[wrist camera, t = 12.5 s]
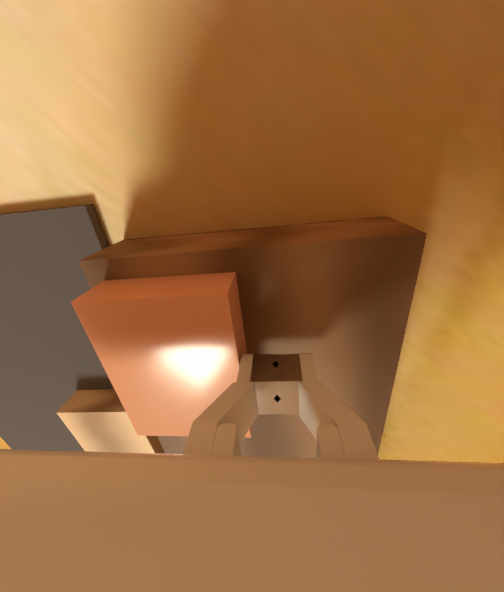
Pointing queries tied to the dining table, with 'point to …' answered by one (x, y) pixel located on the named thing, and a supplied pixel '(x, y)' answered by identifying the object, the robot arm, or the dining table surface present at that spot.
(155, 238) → the walnut board
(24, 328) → the mat
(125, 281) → the tilted orange prism
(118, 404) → the tan rectangular block
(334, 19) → the dining table surface
